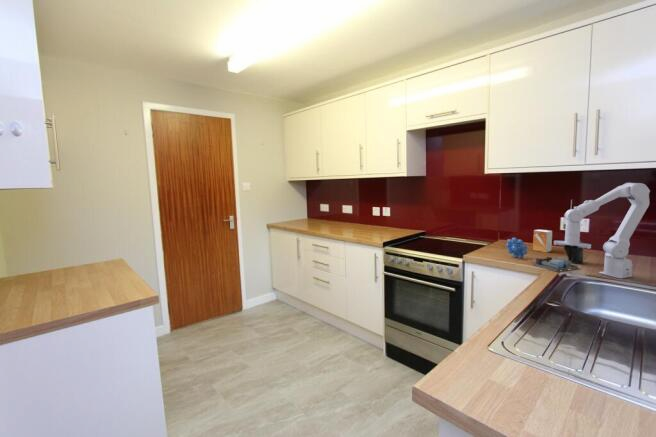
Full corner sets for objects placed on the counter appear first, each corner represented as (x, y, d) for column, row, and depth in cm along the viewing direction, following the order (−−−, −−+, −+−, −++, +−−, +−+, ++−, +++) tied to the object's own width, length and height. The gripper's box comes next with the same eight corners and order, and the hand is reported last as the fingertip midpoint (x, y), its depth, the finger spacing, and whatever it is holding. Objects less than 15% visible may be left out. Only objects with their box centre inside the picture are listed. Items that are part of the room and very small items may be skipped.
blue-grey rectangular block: (564, 266, 163) (564, 261, 162) (557, 267, 162) (557, 262, 161) (551, 263, 170) (551, 257, 169) (544, 264, 168) (544, 258, 168)
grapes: (502, 257, 190) (503, 237, 189) (507, 255, 195) (507, 236, 193) (524, 260, 181) (525, 240, 180) (528, 258, 186) (529, 238, 184)
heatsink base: (577, 268, 163) (578, 260, 162) (556, 271, 159) (557, 263, 159) (552, 262, 176) (552, 254, 176) (532, 264, 173) (532, 257, 172)
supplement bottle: (579, 260, 176) (580, 239, 175) (585, 264, 170) (587, 242, 168) (565, 260, 178) (566, 239, 177) (570, 263, 172) (571, 242, 170)
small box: (532, 250, 204) (533, 230, 202) (538, 248, 207) (538, 229, 205) (546, 252, 197) (547, 231, 195) (551, 251, 200) (552, 230, 198)
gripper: (593, 234, 152) (591, 261, 154) (557, 231, 163) (555, 256, 165) (589, 236, 148) (587, 264, 149) (553, 233, 159) (551, 259, 161)
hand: (570, 260), depth 157 cm, fingers closed
